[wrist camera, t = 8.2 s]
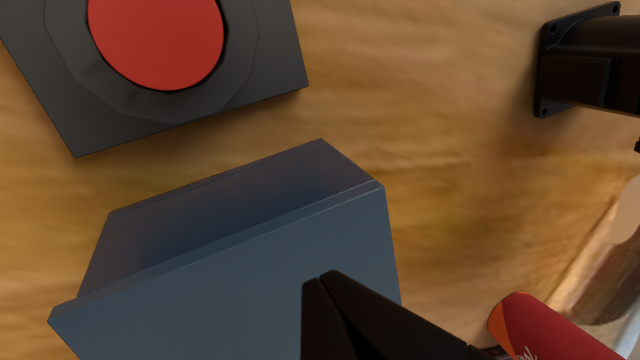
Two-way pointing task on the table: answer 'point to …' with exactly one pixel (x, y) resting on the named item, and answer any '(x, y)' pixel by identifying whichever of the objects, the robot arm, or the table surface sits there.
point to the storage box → (217, 210)
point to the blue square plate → (236, 288)
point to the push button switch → (136, 100)
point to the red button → (158, 39)
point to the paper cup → (542, 332)
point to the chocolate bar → (498, 353)
